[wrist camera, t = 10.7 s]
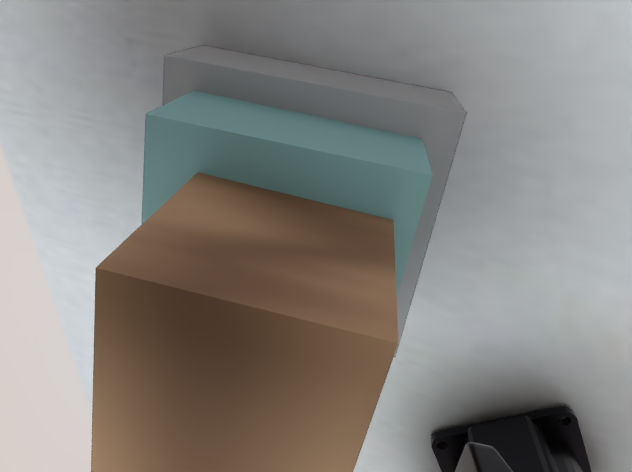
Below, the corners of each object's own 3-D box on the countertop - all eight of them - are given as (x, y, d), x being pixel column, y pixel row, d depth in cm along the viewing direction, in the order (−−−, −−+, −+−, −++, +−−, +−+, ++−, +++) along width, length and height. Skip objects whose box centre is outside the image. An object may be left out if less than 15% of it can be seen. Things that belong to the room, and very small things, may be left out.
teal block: (422, 138, 15) (432, 175, 12) (368, 327, 18) (366, 396, 15) (194, 90, 15) (145, 114, 12) (178, 285, 18) (137, 345, 15)
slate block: (450, 90, 18) (466, 112, 15) (393, 299, 22) (395, 357, 19) (206, 44, 19) (164, 55, 15) (191, 258, 23) (155, 307, 19)
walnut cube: (393, 220, 13) (398, 342, 8) (346, 373, 15) (329, 537, 10) (197, 172, 13) (96, 268, 8) (179, 331, 15) (91, 476, 10)
